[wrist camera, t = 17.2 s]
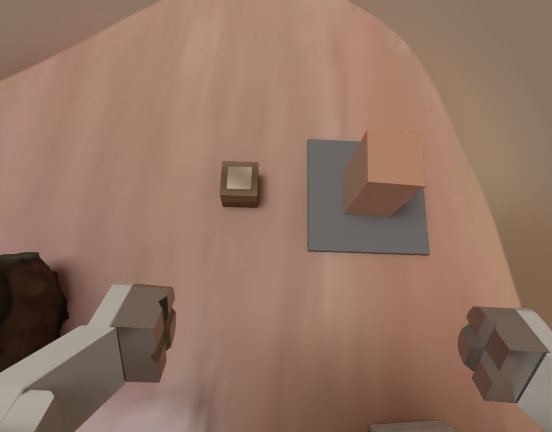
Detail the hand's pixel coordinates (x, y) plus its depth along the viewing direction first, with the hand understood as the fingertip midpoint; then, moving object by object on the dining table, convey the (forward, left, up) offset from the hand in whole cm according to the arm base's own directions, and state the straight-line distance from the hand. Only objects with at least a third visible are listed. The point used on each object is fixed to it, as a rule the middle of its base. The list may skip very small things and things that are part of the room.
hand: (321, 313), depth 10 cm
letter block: (+15, +4, -31) cm, 35 cm away
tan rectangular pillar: (+15, -11, -31) cm, 36 cm away
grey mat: (+15, -11, -31) cm, 37 cm away
